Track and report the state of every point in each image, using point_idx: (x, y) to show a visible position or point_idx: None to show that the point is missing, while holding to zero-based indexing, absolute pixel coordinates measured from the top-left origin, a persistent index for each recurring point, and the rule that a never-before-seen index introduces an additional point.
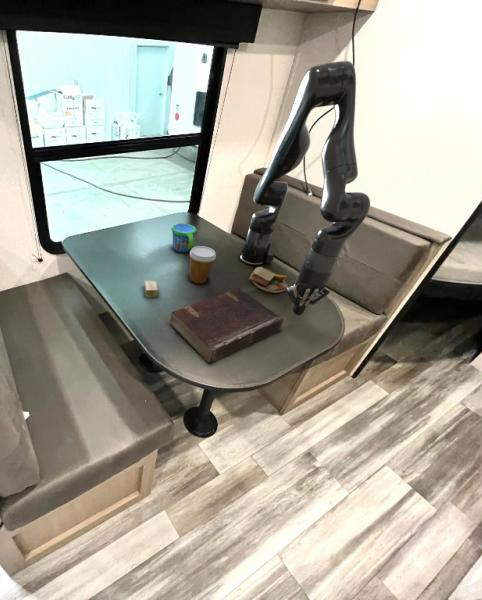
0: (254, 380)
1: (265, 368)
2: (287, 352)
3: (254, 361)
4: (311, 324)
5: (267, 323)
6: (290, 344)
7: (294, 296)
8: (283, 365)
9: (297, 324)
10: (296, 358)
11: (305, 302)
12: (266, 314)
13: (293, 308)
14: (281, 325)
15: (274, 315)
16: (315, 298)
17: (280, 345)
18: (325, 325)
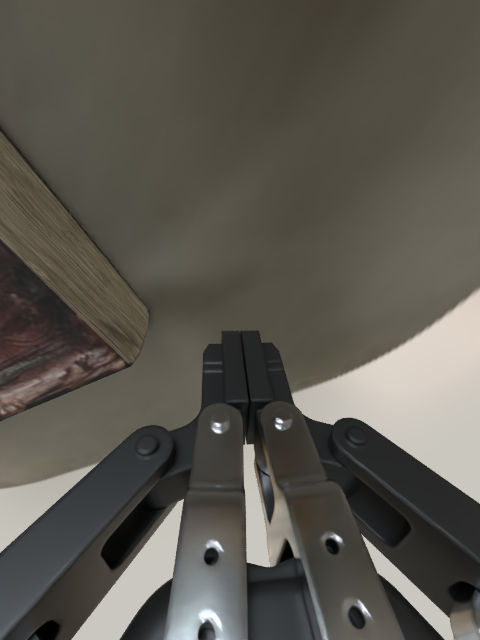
0: (12, 484)
1: (50, 458)
2: (146, 411)
3: (11, 442)
4: (363, 267)
5: (12, 400)
6: (174, 382)
7: (78, 614)
8: (113, 448)
9: (282, 266)
10: (169, 429)
11: (259, 489)
12: (4, 332)
13: (203, 365)
14: (142, 339)
15: (71, 339)
16: (367, 534)
17: (128, 387)
18: (432, 275)
